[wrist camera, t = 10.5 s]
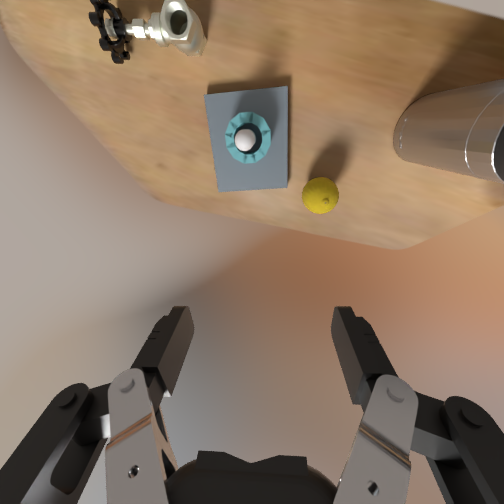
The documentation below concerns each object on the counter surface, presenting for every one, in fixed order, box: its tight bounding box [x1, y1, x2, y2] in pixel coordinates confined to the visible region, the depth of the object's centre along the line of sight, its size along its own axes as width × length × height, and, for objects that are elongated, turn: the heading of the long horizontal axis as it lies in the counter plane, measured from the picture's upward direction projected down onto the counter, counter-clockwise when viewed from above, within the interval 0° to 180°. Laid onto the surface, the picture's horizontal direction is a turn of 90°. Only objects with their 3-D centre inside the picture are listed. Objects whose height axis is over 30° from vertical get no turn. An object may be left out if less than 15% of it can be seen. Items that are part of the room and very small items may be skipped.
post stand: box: [204, 86, 288, 192], centre depth 31 cm, size 12×14×10 cm
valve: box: [89, 0, 207, 64], centre depth 27 cm, size 7×7×12 cm
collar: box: [225, 112, 271, 164], centre depth 32 cm, size 6×6×4 cm
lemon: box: [302, 177, 339, 214], centre depth 35 cm, size 6×6×8 cm
